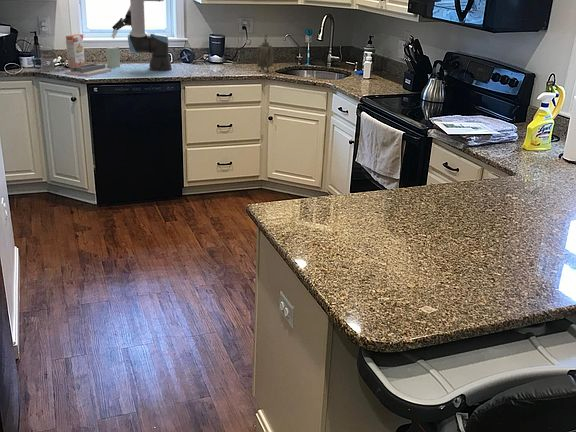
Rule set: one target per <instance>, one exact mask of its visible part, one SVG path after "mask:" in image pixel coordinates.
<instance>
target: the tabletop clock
mask: <svg viewBox="0 0 576 432" xmlns="http://www.w3.org/2000/svg"><path fill="white" fill-rule="evenodd" d="M267 40H268V37H267V34H266V35H264V41H263V42H262V44H259V45H258V46H257V49H256V50H257V51H256V52H257V56H256V66H257V68H260V69H259V70H258V72H259V73H262V71H264V70H265V68H266V72H267V73H269V72H270V70H269V68H270V67H272V66H273V65H274V59H275V58H274V56H275V55H274V53H275V48H274V46H272V45H270V44H269V42H268V41H267Z"/></svg>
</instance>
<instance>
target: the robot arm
mask: <svg viewBox="0 0 576 432" xmlns="http://www.w3.org/2000/svg"><path fill="white" fill-rule="evenodd" d="M145 2H164V0H130V2H129V3H130V5H129V7H128V10H127V12H126V14H125V17H124V18H122V17H120V18H119V20H117V22H115V23H114V25H113V26H111V28H112V34H111V38H112V39H115V37H116V36H117V34H118V31H119V30H120V29H122V28H123V27H125V26H129V27H131V30H130V32H129V34H128V35H127V41H128V43H127V44H128V48H129V51H130V52H131V53H132V54H134V53H135V54H150V55H151V58H150V62H149V65H148V66H149V69H150V70H152V71H170V70H172V67H173V66H172V63H171V61H170V56H169V55H170V54H169V37H168V35H166V34H161V33H155V32H151V33H150V35H148V32H147V31H146V29H145V27H146V26H145V24H146V23H145V20H146V19H145Z"/></svg>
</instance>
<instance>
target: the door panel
mask: <svg viewBox="0 0 576 432" xmlns="http://www.w3.org/2000/svg"><path fill="white" fill-rule="evenodd" d="M105 51H106V52H105V53H106V65H107V66H106V68H109V69H114V68H118V67H119V68H120V67H121V60H120V59H121V58H120V47H119V46H110V47H106V48H105Z"/></svg>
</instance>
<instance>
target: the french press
mask: <svg viewBox="0 0 576 432" xmlns="http://www.w3.org/2000/svg"><path fill="white" fill-rule="evenodd" d="M42 33H43V34H44V36H46V35H45V34H46V33H47V31H46V30H43V31H42ZM44 42H45V45H44V46H41V47H40V48H39V51H45V52H46V53H45V54H41V55H40V64H41V65H40V66H41V68H40V70H41V71H40V72H44V71H51V72H55V70H56V68H55V63H56V62H57V61H58V59H59V56H58V53H57V52H56V51H54V50H53V48H52V47H51V46H47V45H46V43H47V42H46V40H44ZM47 51H51V52H52V54H48V53H47ZM53 53H55V54H56V60H55V61H54V57H53Z"/></svg>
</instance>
